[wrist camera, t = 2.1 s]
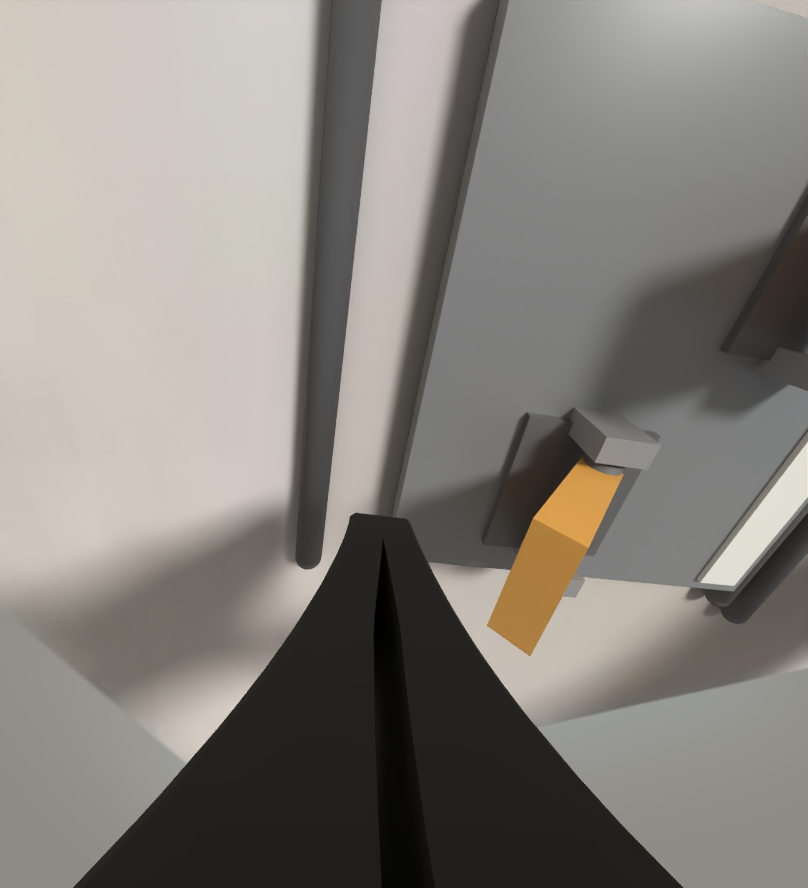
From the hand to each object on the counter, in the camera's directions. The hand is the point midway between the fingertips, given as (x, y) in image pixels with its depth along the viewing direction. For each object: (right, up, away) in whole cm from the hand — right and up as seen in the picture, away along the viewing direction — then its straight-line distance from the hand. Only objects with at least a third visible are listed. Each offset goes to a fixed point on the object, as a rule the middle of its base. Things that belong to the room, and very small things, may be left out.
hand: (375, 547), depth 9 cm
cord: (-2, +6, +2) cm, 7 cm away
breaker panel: (+9, +5, +4) cm, 11 cm away
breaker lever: (+6, 0, +3) cm, 7 cm away
